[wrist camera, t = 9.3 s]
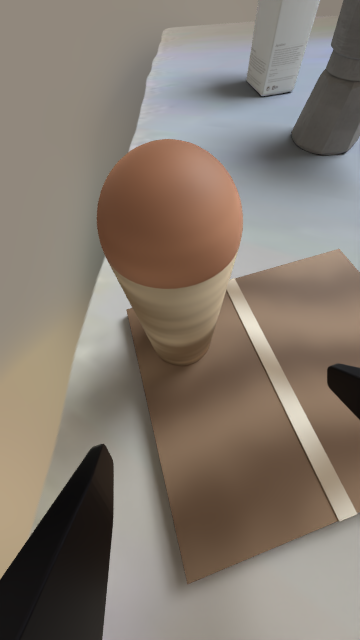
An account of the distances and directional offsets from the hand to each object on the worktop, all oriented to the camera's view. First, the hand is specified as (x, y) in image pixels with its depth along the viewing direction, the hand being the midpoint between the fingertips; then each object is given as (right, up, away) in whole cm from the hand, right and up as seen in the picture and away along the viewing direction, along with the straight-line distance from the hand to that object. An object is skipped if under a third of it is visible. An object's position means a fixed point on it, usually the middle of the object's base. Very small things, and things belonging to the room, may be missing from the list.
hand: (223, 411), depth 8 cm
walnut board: (+7, -1, +9) cm, 11 cm away
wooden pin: (-2, +2, +10) cm, 10 cm away
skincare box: (+15, +48, +32) cm, 60 cm away
